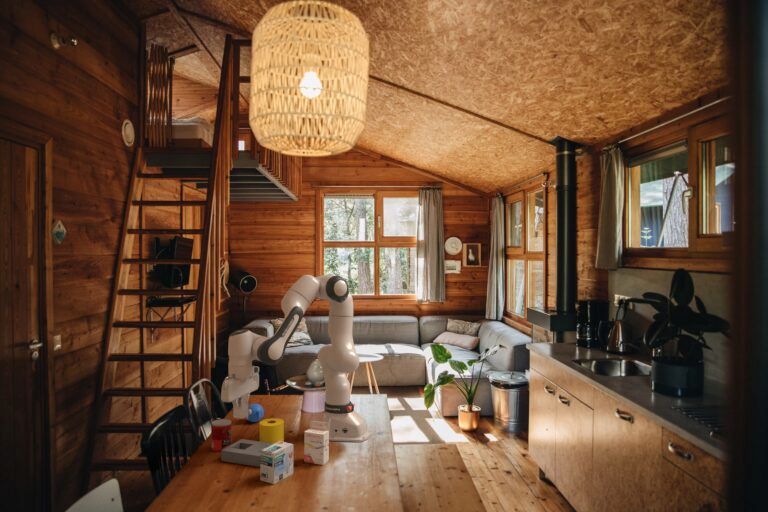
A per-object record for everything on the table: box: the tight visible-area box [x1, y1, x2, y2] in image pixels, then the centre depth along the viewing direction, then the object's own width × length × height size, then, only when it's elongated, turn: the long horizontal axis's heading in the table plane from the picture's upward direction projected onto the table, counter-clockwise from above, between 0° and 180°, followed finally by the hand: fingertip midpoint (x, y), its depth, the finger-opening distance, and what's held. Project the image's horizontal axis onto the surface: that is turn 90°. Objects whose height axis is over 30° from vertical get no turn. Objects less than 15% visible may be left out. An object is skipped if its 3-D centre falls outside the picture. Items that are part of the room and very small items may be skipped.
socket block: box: [220, 438, 274, 468], centre depth 190 cm, size 20×13×4 cm, turn 71°
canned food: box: [210, 418, 232, 453], centre depth 200 cm, size 8×8×11 cm
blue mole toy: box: [243, 403, 265, 423], centre depth 233 cm, size 12×12×8 cm
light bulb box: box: [259, 441, 295, 485], centre depth 173 cm, size 11×7×11 cm, turn 151°
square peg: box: [232, 392, 249, 419], centre depth 189 cm, size 4×4×9 cm
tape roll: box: [259, 417, 285, 444], centre depth 204 cm, size 10×10×9 cm
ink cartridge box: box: [303, 420, 330, 466], centre depth 187 cm, size 9×5×15 cm, turn 71°
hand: (240, 407), depth 189 cm, fingers closed on square peg, 4 cm apart
